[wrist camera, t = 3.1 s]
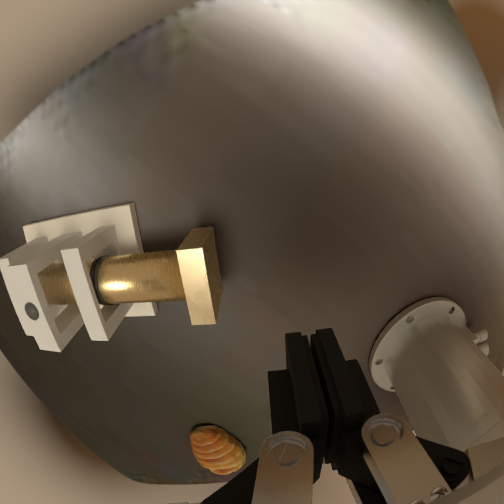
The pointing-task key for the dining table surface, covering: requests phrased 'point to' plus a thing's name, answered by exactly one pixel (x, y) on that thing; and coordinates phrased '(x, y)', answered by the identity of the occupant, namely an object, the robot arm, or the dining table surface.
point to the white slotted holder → (72, 274)
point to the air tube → (150, 277)
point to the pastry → (217, 449)
